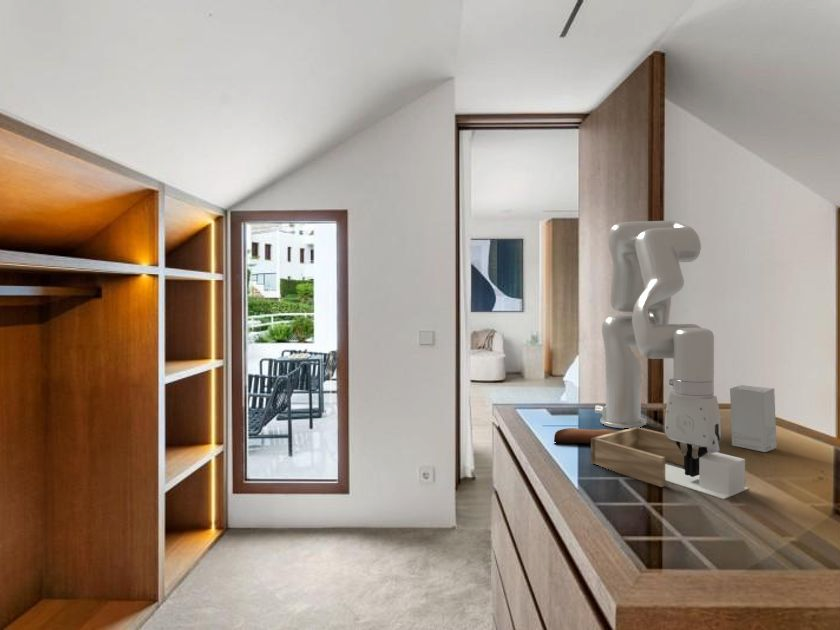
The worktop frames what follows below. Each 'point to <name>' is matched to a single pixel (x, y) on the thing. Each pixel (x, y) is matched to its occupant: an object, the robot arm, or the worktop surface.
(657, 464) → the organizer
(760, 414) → the skincare box
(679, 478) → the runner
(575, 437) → the sunglasses case
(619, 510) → the worktop surface
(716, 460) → the white cube
